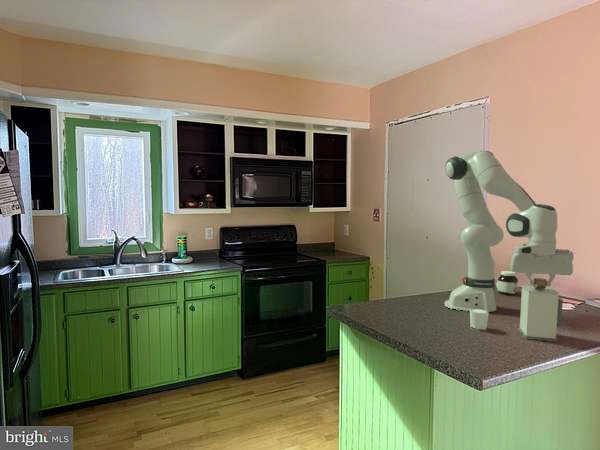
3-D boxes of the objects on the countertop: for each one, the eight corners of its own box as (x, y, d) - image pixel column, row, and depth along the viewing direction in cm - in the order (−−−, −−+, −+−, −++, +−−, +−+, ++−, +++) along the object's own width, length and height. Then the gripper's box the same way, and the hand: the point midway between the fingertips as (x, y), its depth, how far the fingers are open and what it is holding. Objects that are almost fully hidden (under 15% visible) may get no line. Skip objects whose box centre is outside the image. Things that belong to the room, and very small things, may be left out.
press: (525, 339, 152) (527, 291, 150) (518, 329, 162) (520, 285, 160) (564, 342, 148) (567, 293, 147) (554, 332, 158) (557, 287, 157)
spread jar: (507, 296, 213) (509, 274, 212) (488, 291, 223) (489, 270, 222) (522, 293, 219) (523, 272, 218) (502, 289, 229) (503, 268, 228)
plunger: (529, 334, 153) (532, 280, 151) (524, 327, 160) (526, 276, 158) (551, 335, 151) (554, 281, 149) (544, 329, 158) (547, 277, 156)
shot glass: (465, 326, 165) (465, 309, 165) (478, 324, 168) (479, 307, 167) (478, 332, 159) (478, 314, 158) (491, 330, 161) (492, 312, 161)
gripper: (570, 248, 153) (568, 285, 154) (509, 246, 158) (508, 282, 159) (577, 251, 147) (574, 289, 148) (513, 248, 152) (512, 285, 153)
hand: (539, 285), depth 154 cm, fingers open, 4 cm apart
